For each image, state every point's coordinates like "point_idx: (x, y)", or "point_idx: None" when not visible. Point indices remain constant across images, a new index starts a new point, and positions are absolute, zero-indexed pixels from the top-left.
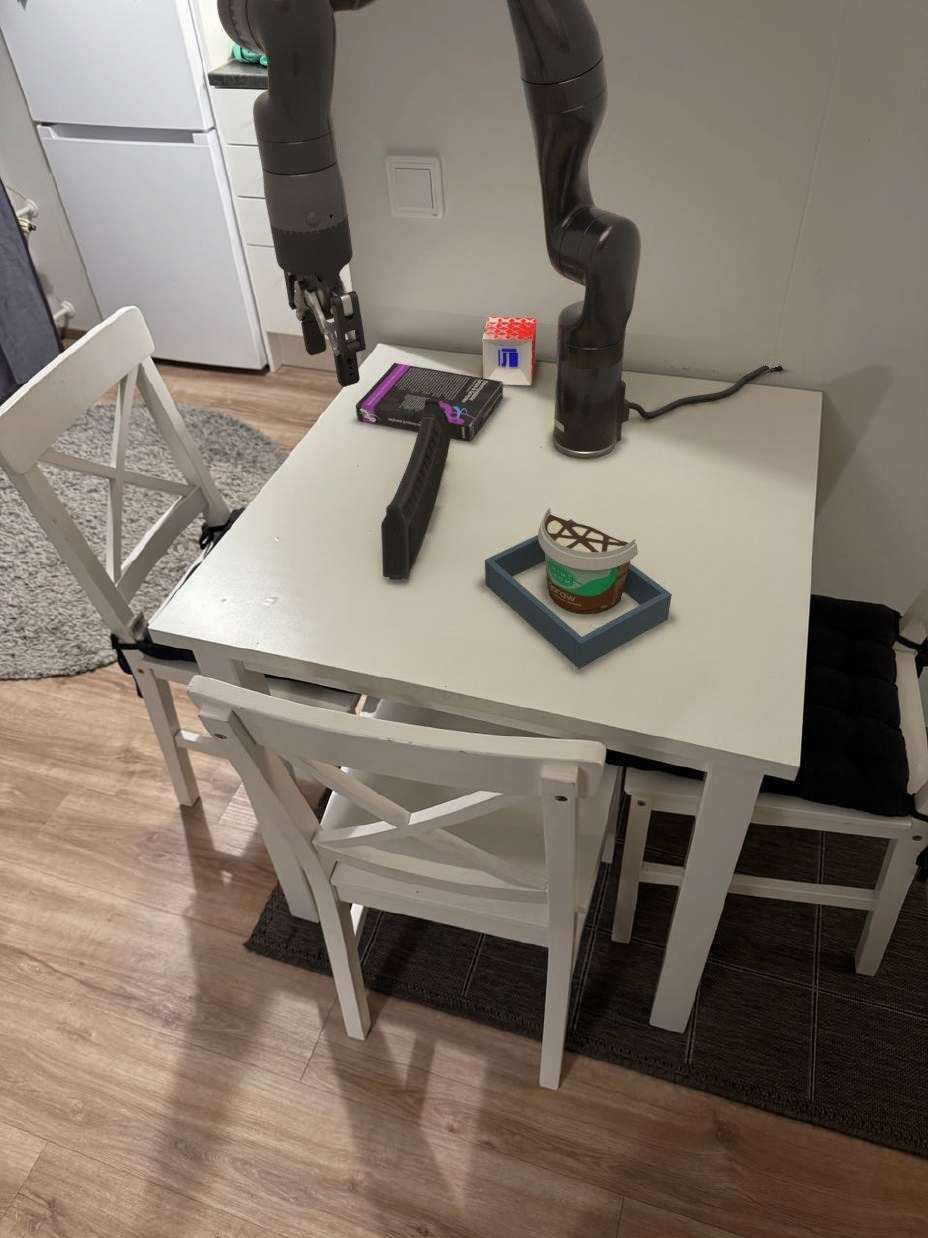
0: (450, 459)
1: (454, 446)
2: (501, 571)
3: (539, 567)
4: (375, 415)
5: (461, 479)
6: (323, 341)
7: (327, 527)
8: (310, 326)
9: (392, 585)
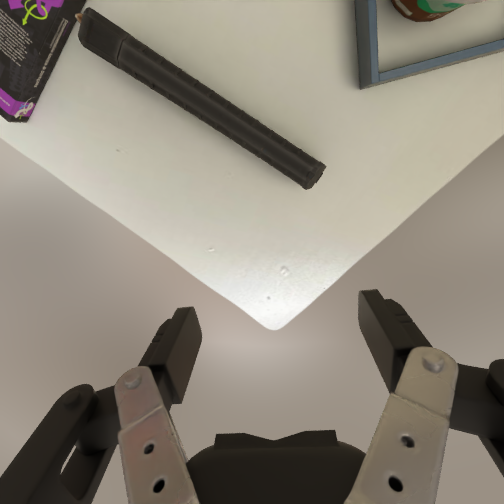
0: None
1: None
2: (401, 72)
3: None
4: (27, 101)
5: (172, 36)
6: (187, 322)
7: (210, 207)
8: (179, 380)
9: None
